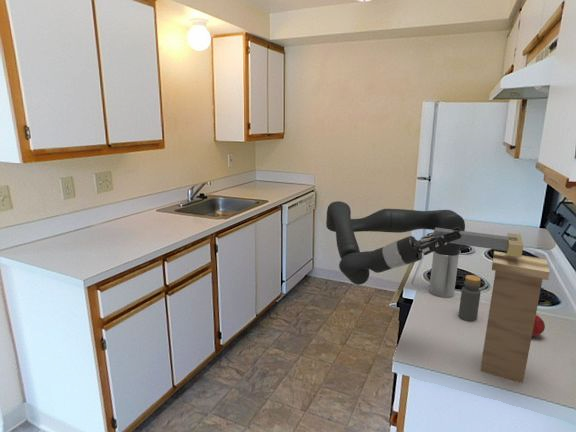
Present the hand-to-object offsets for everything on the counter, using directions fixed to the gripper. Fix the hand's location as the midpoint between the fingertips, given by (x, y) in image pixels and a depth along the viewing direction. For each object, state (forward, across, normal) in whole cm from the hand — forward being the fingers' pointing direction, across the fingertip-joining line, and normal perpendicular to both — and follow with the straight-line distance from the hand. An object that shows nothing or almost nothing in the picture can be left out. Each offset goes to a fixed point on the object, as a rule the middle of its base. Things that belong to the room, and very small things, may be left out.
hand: (460, 232), depth 102 cm
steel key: (+2, 0, -4) cm, 5 cm away
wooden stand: (-6, +2, -40) cm, 40 cm away
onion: (+2, -22, -45) cm, 50 cm away
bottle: (-15, -25, -35) cm, 45 cm away
